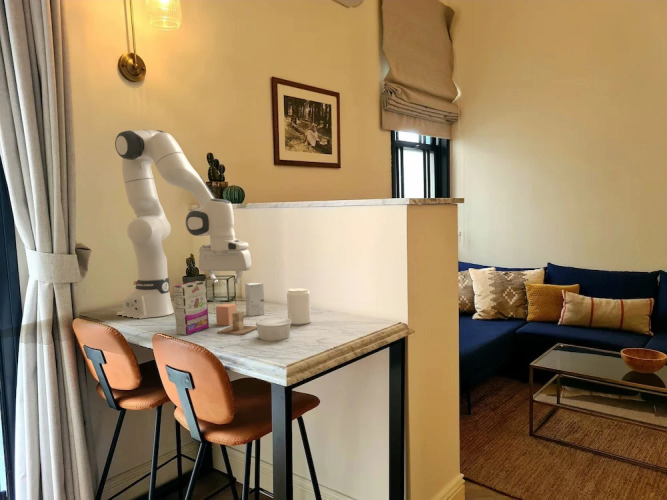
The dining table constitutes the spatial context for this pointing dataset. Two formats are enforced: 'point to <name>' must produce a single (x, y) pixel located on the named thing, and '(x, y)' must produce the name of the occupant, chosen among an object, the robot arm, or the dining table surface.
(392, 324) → the dining table surface
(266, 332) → the ramekin
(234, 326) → the base plate with peg
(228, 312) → the salmon orange rectangular block
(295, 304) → the beverage can
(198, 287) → the candy bar box
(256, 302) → the skincare box
